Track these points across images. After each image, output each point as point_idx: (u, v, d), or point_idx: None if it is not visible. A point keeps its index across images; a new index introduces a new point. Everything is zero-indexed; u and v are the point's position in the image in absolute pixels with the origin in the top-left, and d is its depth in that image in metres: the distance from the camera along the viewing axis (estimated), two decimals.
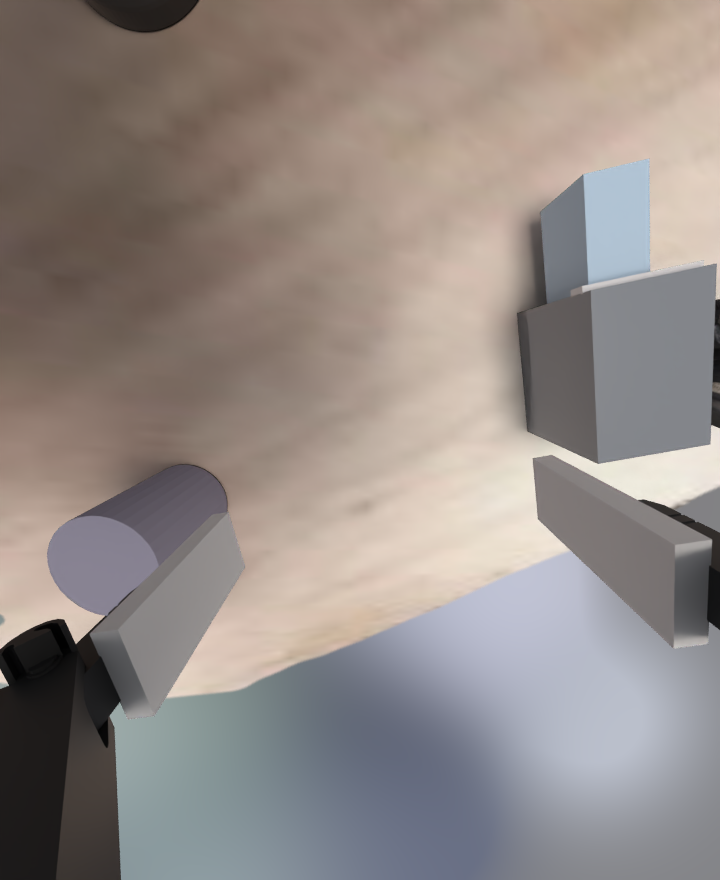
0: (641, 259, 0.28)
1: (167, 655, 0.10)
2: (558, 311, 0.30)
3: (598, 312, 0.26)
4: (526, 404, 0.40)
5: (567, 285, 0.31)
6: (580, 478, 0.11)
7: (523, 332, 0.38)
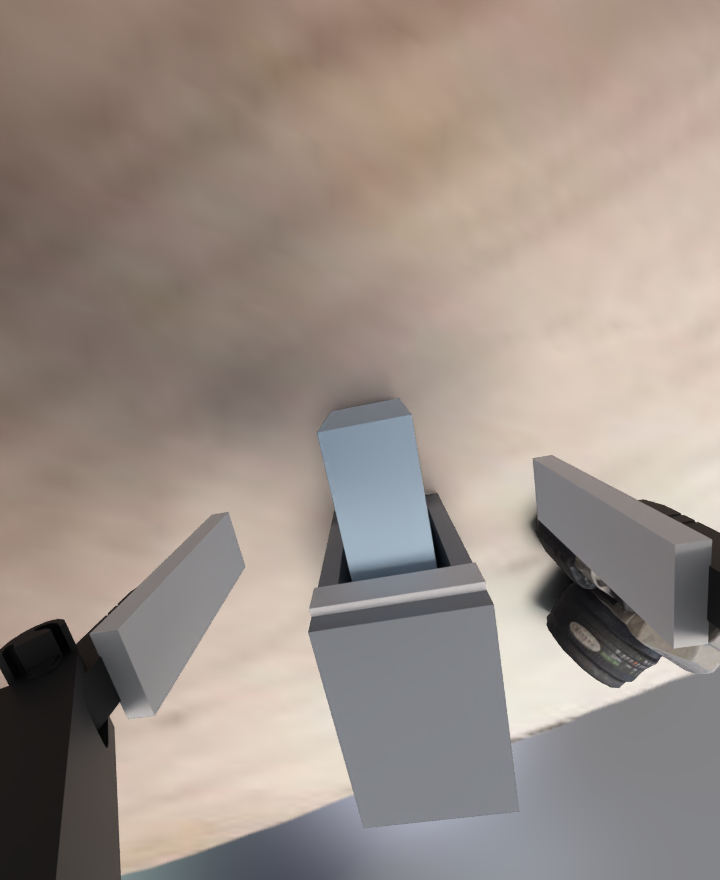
0: (421, 541, 0.19)
1: (167, 655, 0.10)
2: None
3: (326, 659, 0.17)
4: None
5: None
6: (580, 478, 0.11)
7: None
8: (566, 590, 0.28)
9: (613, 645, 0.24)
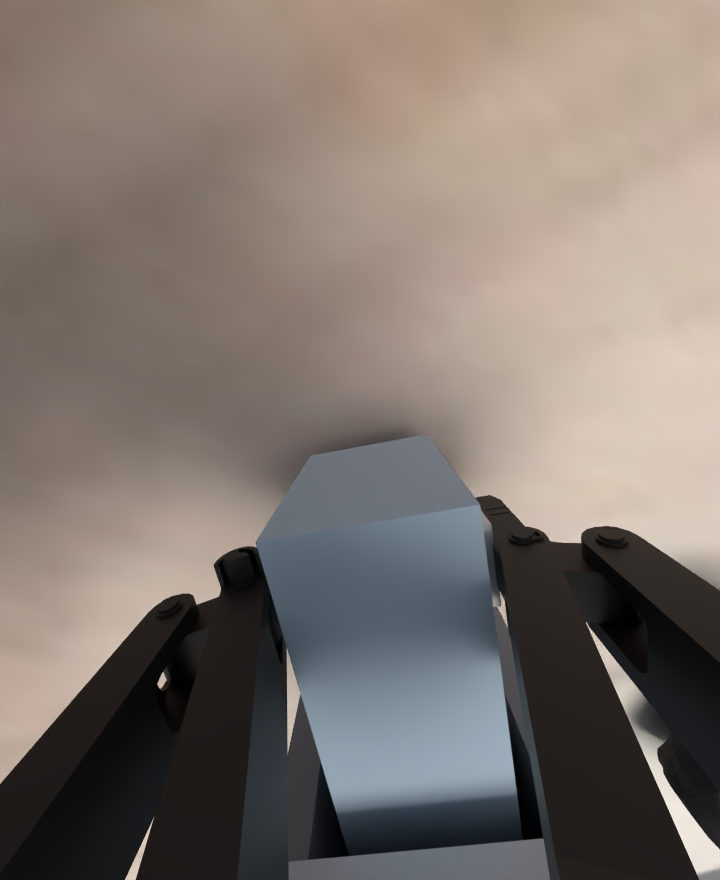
0: (488, 761, 0.09)
1: None
2: None
3: None
4: None
5: None
6: None
7: None
8: None
9: None
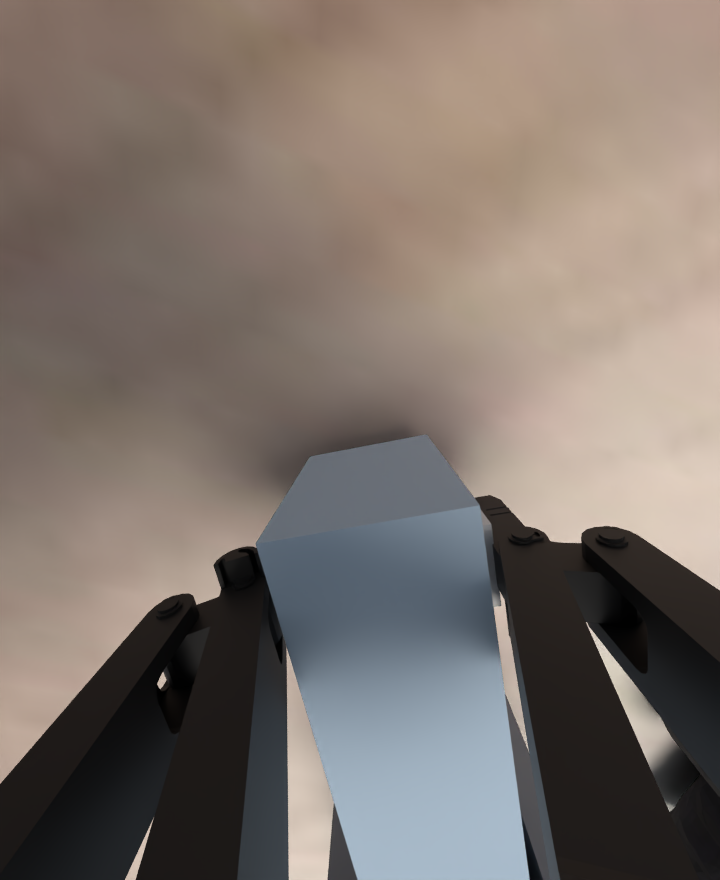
0: (488, 761, 0.09)
1: None
2: None
3: None
4: None
5: None
6: None
7: None
8: (703, 796, 0.19)
9: None
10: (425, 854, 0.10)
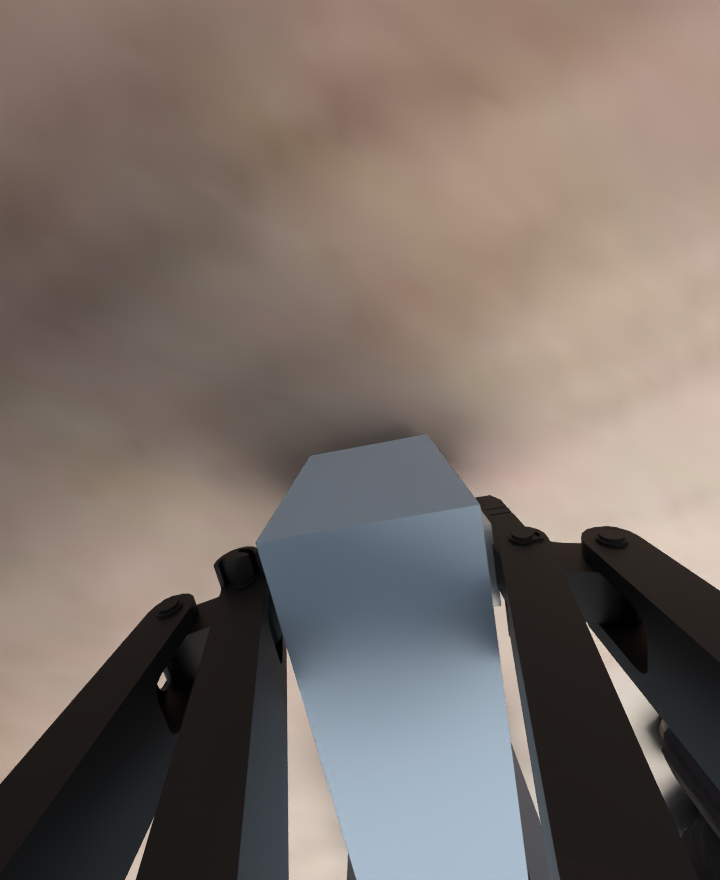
0: (488, 761, 0.09)
1: None
2: None
3: None
4: None
5: None
6: None
7: None
8: (706, 835, 0.20)
9: None
10: (424, 854, 0.10)
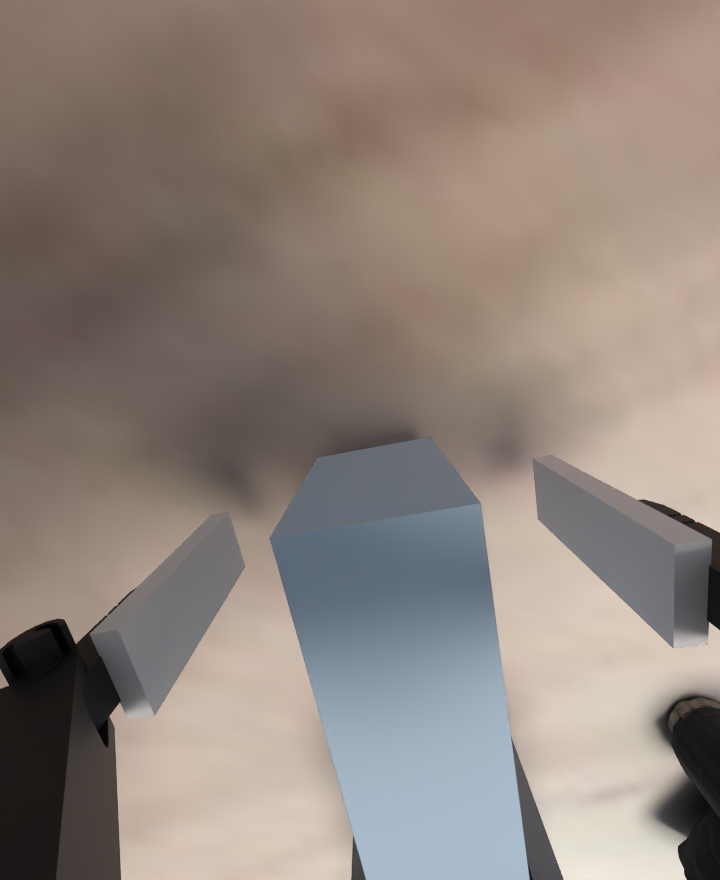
0: (489, 750, 0.09)
1: (167, 655, 0.10)
2: None
3: None
4: None
5: None
6: (580, 478, 0.11)
7: None
8: (715, 829, 0.20)
9: None
10: (427, 840, 0.10)
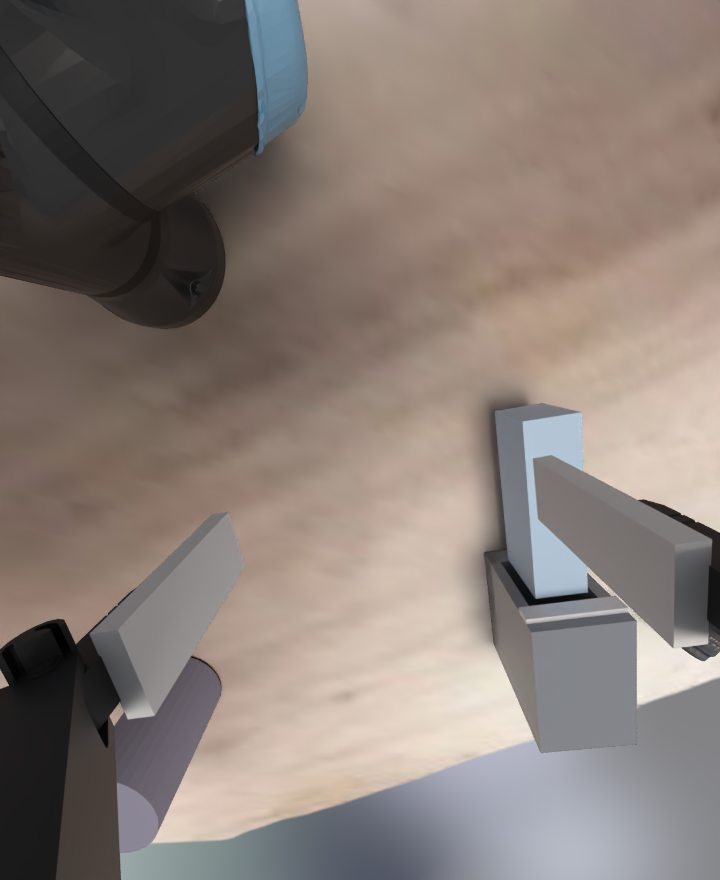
0: None
1: (167, 655, 0.10)
2: (511, 605, 0.35)
3: (538, 648, 0.30)
4: (492, 624, 0.45)
5: (514, 490, 0.34)
6: (580, 478, 0.11)
7: (488, 573, 0.42)
8: None
9: None
10: None
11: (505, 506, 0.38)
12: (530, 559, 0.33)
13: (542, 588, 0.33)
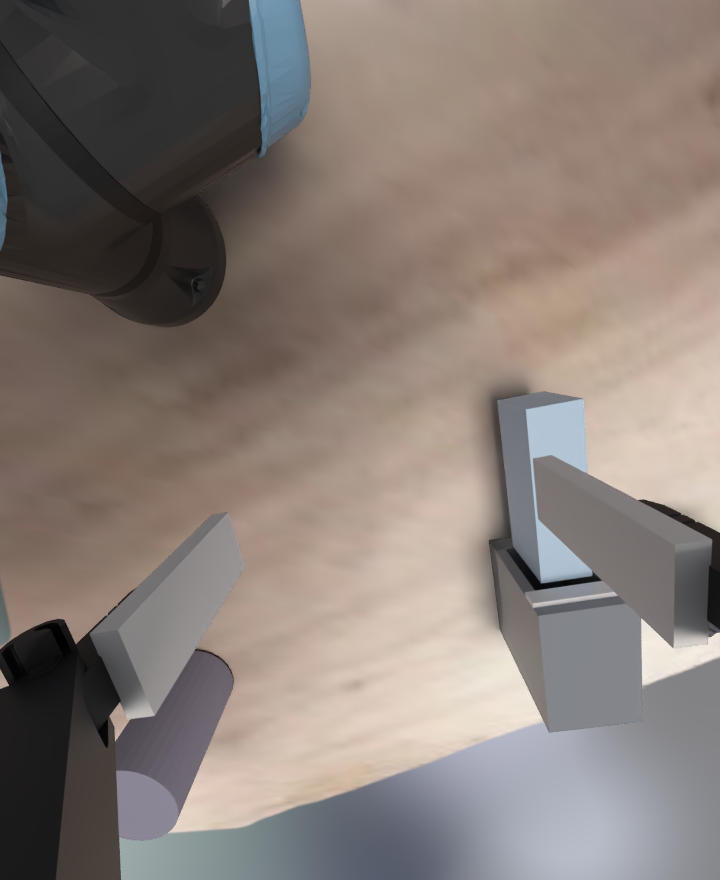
0: None
1: (167, 655, 0.10)
2: (517, 591, 0.35)
3: (545, 630, 0.31)
4: (498, 611, 0.46)
5: (519, 478, 0.35)
6: (580, 478, 0.11)
7: (494, 560, 0.43)
8: None
9: None
10: None
11: (509, 494, 0.38)
12: (535, 545, 0.34)
13: (547, 573, 0.34)
